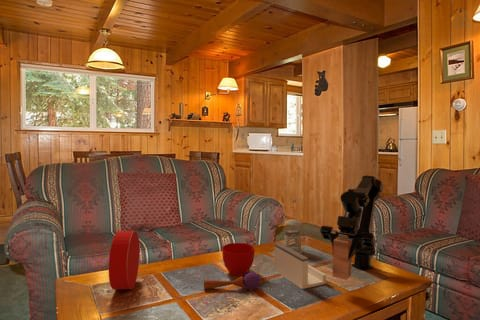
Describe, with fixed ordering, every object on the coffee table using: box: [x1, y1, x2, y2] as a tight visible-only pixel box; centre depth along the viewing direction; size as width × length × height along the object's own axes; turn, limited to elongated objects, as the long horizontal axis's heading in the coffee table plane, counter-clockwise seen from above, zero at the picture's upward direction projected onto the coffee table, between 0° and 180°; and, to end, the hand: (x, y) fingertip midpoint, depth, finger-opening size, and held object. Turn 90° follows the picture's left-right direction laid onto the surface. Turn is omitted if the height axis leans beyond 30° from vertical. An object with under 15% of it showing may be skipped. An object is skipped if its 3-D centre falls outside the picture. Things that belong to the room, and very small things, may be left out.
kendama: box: [203, 272, 261, 291], centre depth 121 cm, size 6×6×20 cm
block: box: [331, 234, 353, 281], centre depth 119 cm, size 5×5×15 cm
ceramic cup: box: [221, 242, 256, 276], centre depth 138 cm, size 13×17×10 cm
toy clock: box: [108, 230, 140, 290], centre depth 121 cm, size 20×6×20 cm, turn 5°
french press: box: [283, 199, 308, 254], centre depth 162 cm, size 10×12×25 cm
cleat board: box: [273, 242, 327, 290], centre depth 132 cm, size 11×19×11 cm, turn 26°
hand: (341, 257), depth 117 cm, fingers closed on block, 5 cm apart
